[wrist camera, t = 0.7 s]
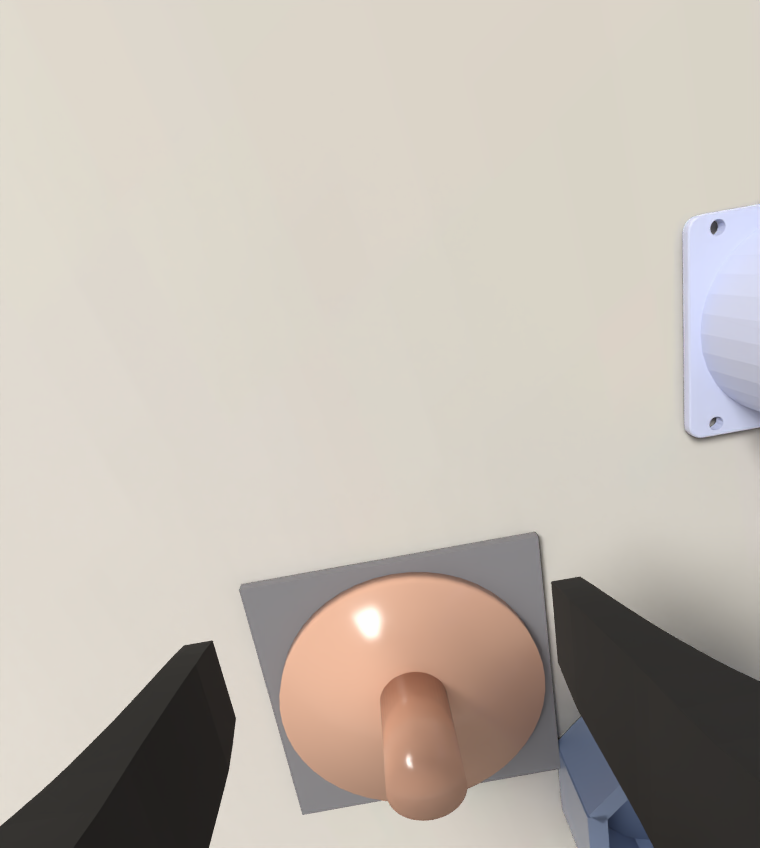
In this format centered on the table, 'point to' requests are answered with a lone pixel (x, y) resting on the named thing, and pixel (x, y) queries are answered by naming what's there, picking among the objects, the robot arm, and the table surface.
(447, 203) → the table surface
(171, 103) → the table surface
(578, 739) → the bowl
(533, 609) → the mat
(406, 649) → the lid
